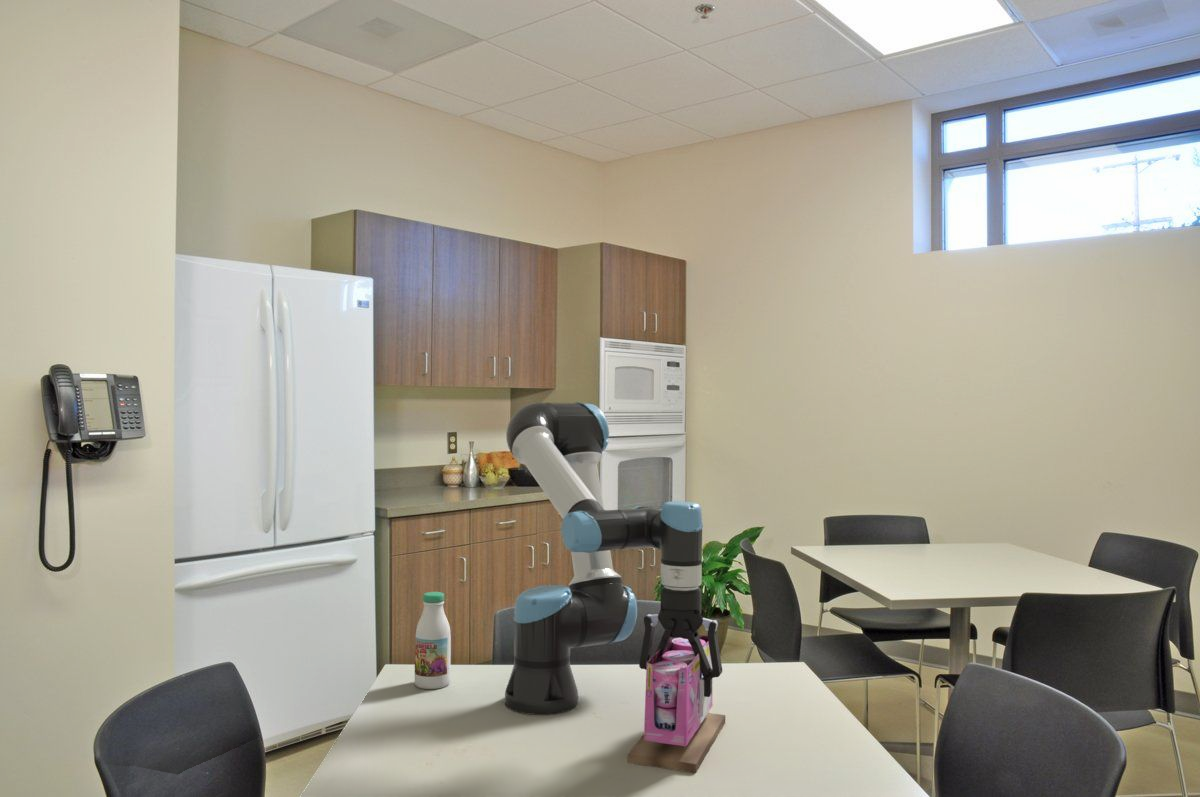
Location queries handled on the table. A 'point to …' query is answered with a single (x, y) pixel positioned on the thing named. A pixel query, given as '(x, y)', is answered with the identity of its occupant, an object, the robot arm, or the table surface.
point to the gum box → (674, 693)
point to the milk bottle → (432, 644)
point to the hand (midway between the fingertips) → (680, 710)
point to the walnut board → (679, 748)
